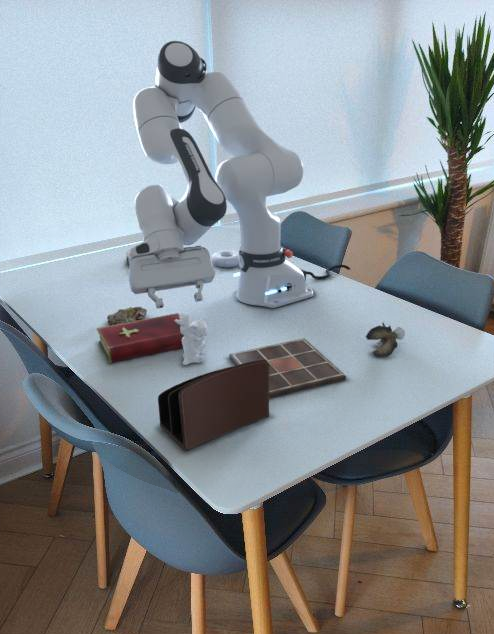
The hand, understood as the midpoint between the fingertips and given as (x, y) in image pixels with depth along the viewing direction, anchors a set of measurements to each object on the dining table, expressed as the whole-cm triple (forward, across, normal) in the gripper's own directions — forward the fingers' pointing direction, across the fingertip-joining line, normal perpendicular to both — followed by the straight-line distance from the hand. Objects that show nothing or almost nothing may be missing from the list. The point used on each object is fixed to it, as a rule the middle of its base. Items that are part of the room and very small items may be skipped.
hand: (180, 303), depth 141 cm
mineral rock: (-7, +9, -24) cm, 26 cm away
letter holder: (+32, +4, +15) cm, 35 cm away
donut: (-28, -31, -45) cm, 61 cm away
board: (+22, -19, +5) cm, 29 cm away
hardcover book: (+4, +8, -12) cm, 15 cm away
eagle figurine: (+22, -45, +5) cm, 50 cm away
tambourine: (-36, -8, -53) cm, 65 cm away
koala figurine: (+13, 0, -4) cm, 13 cm away
